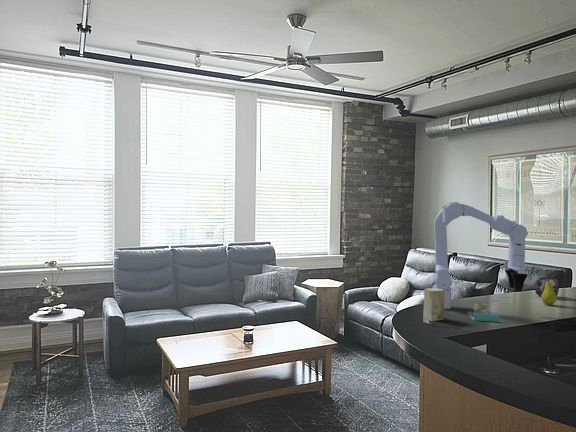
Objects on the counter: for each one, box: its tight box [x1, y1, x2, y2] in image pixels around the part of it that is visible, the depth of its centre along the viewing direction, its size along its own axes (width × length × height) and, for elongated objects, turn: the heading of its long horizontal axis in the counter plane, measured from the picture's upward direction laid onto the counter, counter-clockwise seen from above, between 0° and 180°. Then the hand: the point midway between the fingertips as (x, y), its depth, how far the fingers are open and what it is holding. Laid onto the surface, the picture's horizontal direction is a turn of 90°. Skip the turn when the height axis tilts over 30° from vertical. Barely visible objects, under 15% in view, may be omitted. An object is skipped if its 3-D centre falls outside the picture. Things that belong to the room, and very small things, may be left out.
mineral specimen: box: [534, 276, 560, 297], centre depth 218 cm, size 10×10×10 cm
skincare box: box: [422, 287, 445, 325], centre depth 167 cm, size 6×4×12 cm
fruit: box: [540, 276, 558, 306], centre depth 200 cm, size 6×6×12 cm
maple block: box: [473, 302, 488, 314], centre depth 175 cm, size 4×4×4 cm
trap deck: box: [466, 311, 500, 323], centre depth 171 cm, size 14×8×4 cm, turn 168°
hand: (515, 289), depth 180 cm, fingers open, 7 cm apart
